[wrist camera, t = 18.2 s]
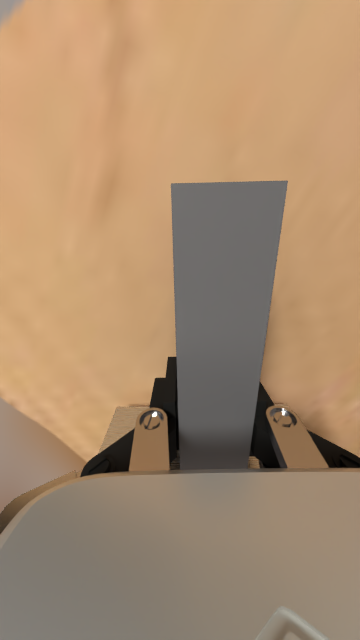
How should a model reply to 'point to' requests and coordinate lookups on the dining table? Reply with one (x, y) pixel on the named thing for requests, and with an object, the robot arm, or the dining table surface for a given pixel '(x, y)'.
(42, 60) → the dining table surface
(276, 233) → the grey t-shaped block
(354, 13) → the dining table surface
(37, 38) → the dining table surface
